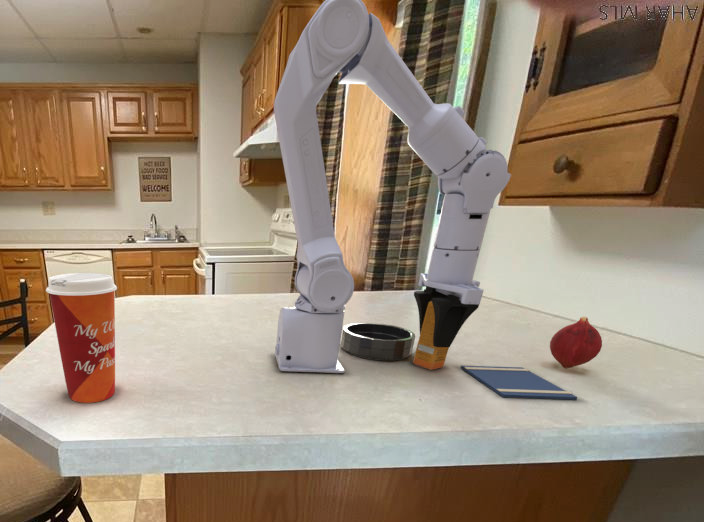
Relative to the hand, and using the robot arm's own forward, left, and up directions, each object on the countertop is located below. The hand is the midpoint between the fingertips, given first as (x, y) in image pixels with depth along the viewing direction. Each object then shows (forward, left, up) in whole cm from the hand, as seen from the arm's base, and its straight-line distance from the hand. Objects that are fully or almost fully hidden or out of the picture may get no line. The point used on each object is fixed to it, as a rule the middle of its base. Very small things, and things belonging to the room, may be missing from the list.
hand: (434, 342), depth 64 cm
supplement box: (0, 0, -4) cm, 4 cm away
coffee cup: (-49, -15, -4) cm, 51 cm away
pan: (-6, +7, -4) cm, 10 cm away
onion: (+21, +1, -4) cm, 21 cm away
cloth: (+9, -6, -4) cm, 11 cm away
